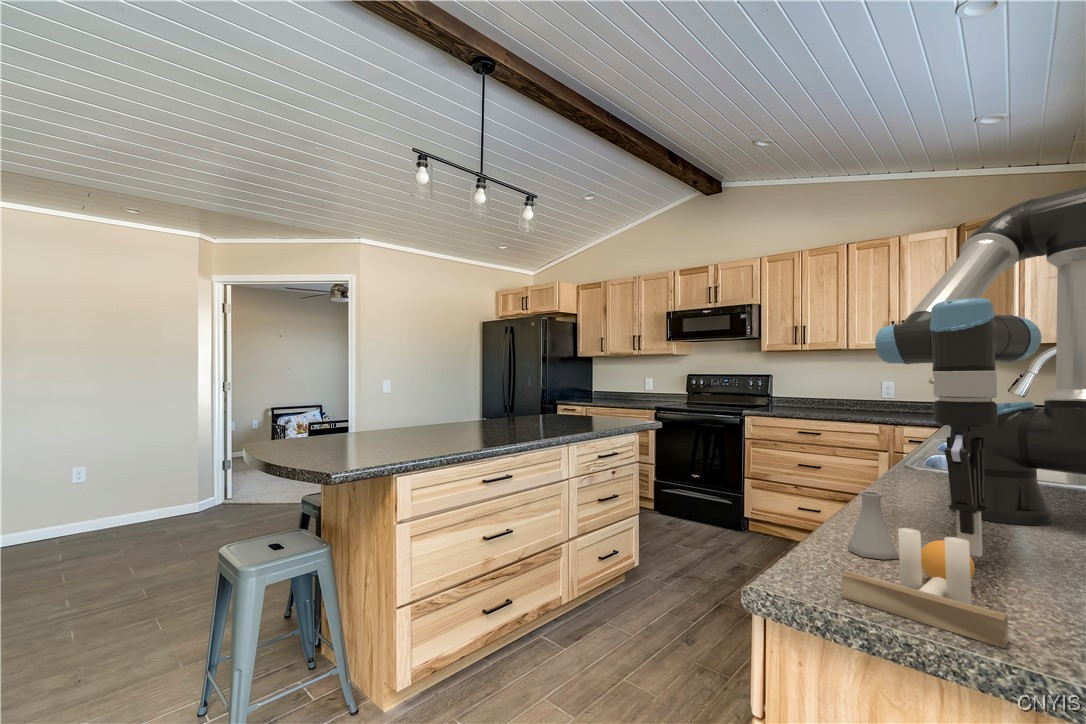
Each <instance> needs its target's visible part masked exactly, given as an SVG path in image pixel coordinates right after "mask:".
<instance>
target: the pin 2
mask: <svg viewBox="0 0 1086 724" xmlns="http://www.w3.org/2000/svg"><path fill="white" fill-rule="evenodd" d="M944 541H945V565H946V592H947V597H946V598H949V599H952V600H956V601H960V602H963V603H967V604H971V605H972V583H971V580H972V579H971V578H970V556H971V555H970V552H969V541H967V540H965V539H961V538H957V536H955V537H954V536H945V537H944Z"/></svg>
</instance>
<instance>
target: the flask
mask: <svg viewBox="0 0 1086 724" xmlns="http://www.w3.org/2000/svg"><path fill="white" fill-rule="evenodd" d="M859 495H860V497H861V507H860V512H859V513H860V514H859V516H858V519H857V521H856V524H855V528H854V530H853V532H852V535H851V537H850V538H849V539H850V540H849V541H848V546H847V548H848V551H849V552H851V553H854V554H856V555H857V556H860V557H863V558H869V559H876V560H895V559H896V560H899V554H898V551H897V548H896V545H895V544H894V541H893V539H892V537H891V535H890V532H889V529H888V527H887V524H886V522H885V519H884V515H883V511H882V507H881V499H882V498H883V493H882V492H879V491H875V490H860V491H859Z"/></svg>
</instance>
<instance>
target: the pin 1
mask: <svg viewBox="0 0 1086 724" xmlns="http://www.w3.org/2000/svg"><path fill="white" fill-rule="evenodd" d="M897 531H898V534H897V535H898V552H899V554H898V556H899V559H898V560H899V581H900V582H899V583H900V584H899V585H901V586H905V587H908V588H912V589H916V590H919V589H920V588H921V587H922V586H923V568H922V561H921V550H922V539H921V531H920V530H918V529H914V528H908V527H899V528H898V529H897Z"/></svg>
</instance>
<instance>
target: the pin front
mask: <svg viewBox="0 0 1086 724" xmlns="http://www.w3.org/2000/svg"><path fill="white" fill-rule="evenodd" d="M919 591H923V592H927V593H930V594H934V595H938V596H941V597H945V598H947V592H946V580H945V579H943V578H941V577H933V578H932V579H931V578H930V579H929V580H928V581H927V582H926V583H925V584H924V585H923V584H922V587H921V588H920V589H919Z"/></svg>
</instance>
